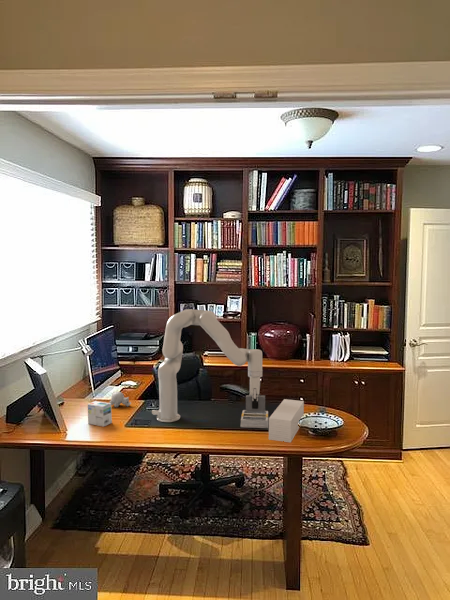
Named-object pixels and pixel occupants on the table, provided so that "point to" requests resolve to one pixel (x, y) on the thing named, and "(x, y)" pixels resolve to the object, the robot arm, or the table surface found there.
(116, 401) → the round bodied animal figurine
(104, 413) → the light bulb box
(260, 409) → the panel
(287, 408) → the grey rectangular block
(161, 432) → the table surface
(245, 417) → the rack
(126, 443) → the table surface
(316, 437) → the table surface
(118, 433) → the table surface
